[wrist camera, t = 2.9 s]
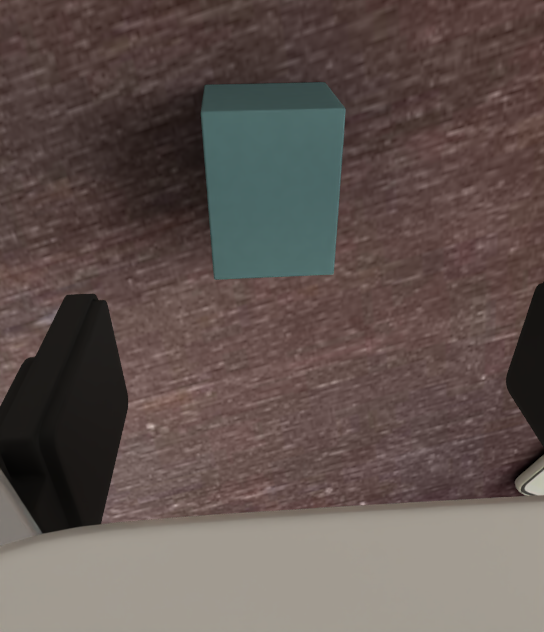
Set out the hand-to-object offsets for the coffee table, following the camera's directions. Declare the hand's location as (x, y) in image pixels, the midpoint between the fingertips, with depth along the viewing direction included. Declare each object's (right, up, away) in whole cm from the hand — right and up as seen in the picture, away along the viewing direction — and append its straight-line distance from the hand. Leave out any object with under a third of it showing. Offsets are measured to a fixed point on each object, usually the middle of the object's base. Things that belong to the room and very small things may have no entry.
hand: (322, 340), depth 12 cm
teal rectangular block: (-1, +7, +10) cm, 12 cm away
